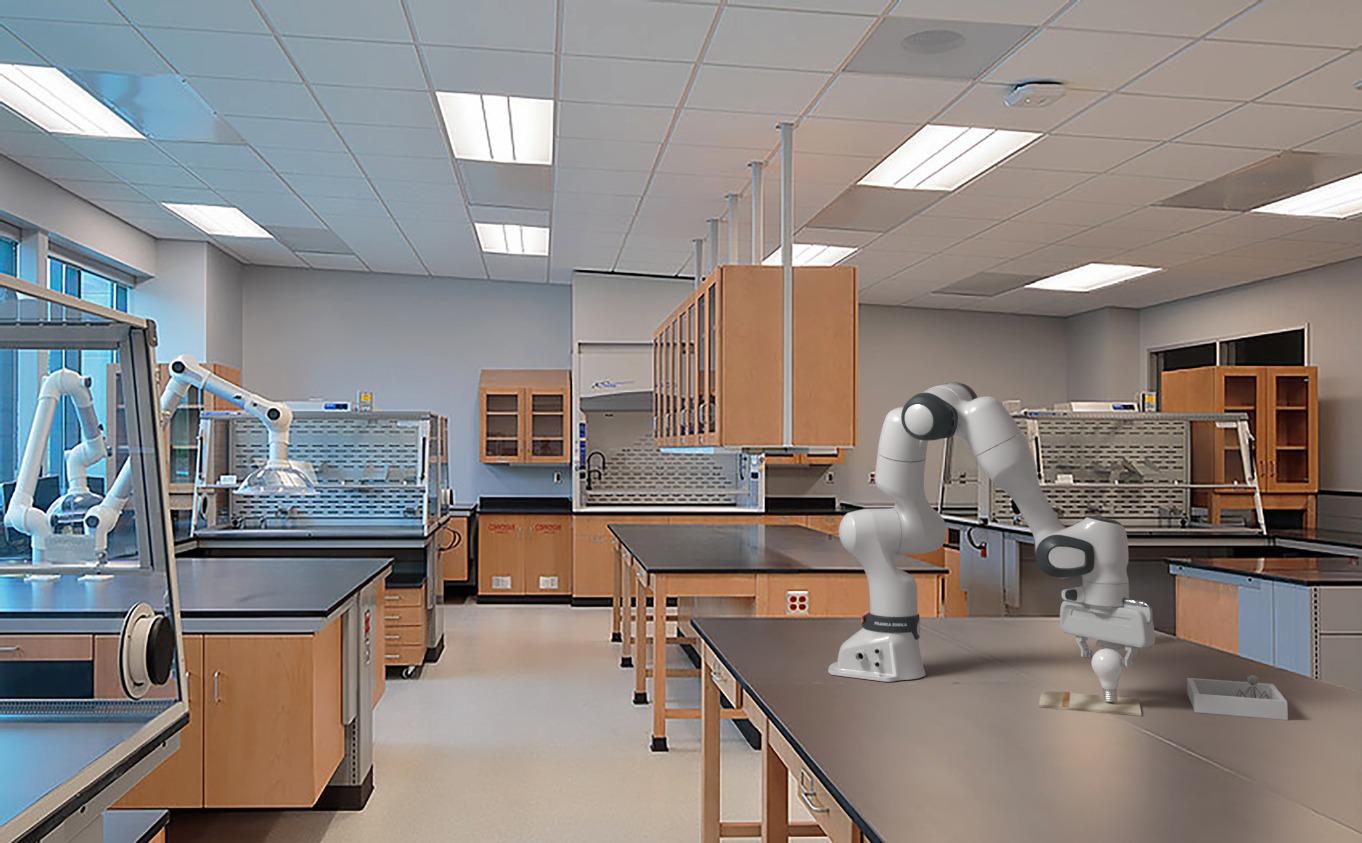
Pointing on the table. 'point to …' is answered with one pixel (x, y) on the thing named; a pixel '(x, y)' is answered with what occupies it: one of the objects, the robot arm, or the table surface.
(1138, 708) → the board
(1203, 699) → the specimen tray
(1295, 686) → the table surface
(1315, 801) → the table surface
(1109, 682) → the lightbulb
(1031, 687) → the table surface
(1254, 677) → the bacteriophage
